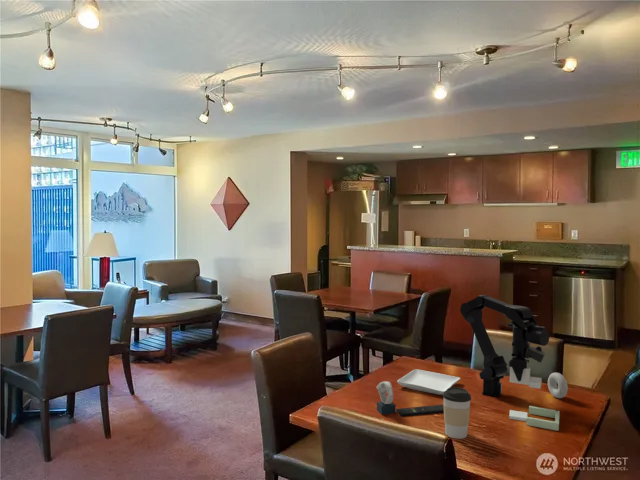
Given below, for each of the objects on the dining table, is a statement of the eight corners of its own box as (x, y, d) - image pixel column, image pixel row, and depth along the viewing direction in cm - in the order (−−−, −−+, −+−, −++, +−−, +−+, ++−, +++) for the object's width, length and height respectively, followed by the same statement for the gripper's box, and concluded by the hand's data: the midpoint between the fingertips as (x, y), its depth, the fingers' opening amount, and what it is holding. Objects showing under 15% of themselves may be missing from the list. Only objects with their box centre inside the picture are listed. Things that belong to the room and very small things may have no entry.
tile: (509, 419, 175) (509, 415, 175) (509, 413, 181) (509, 409, 181) (527, 422, 173) (527, 418, 173) (527, 416, 178) (527, 412, 178)
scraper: (508, 383, 187) (509, 368, 187) (510, 378, 193) (511, 363, 193) (540, 388, 182) (540, 372, 182) (541, 383, 188) (541, 367, 188)
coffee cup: (438, 428, 166) (439, 385, 166) (464, 427, 167) (465, 384, 166) (447, 440, 157) (448, 394, 157) (474, 439, 158) (475, 394, 157)
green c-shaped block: (526, 424, 170) (526, 417, 170) (529, 412, 181) (529, 405, 181) (558, 430, 165) (558, 423, 165) (559, 417, 176) (559, 410, 176)
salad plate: (461, 384, 212) (461, 376, 212) (445, 399, 194) (445, 391, 194) (414, 375, 223) (414, 368, 223) (395, 389, 206) (396, 381, 205)
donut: (569, 401, 192) (570, 376, 191) (561, 402, 191) (562, 377, 191) (553, 392, 201) (553, 368, 201) (545, 393, 201) (546, 369, 200)
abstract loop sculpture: (388, 406, 185) (388, 378, 185) (397, 414, 178) (397, 385, 177) (374, 408, 184) (375, 379, 183) (383, 416, 176) (383, 386, 176)
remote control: (396, 412, 181) (396, 408, 181) (454, 406, 187) (454, 403, 187) (401, 418, 176) (401, 414, 176) (461, 412, 182) (461, 408, 182)
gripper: (542, 348, 176) (541, 391, 176) (544, 337, 192) (543, 376, 193) (509, 344, 181) (508, 386, 181) (514, 333, 197) (513, 372, 198)
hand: (519, 380), depth 188 cm, fingers closed on scraper, 2 cm apart
